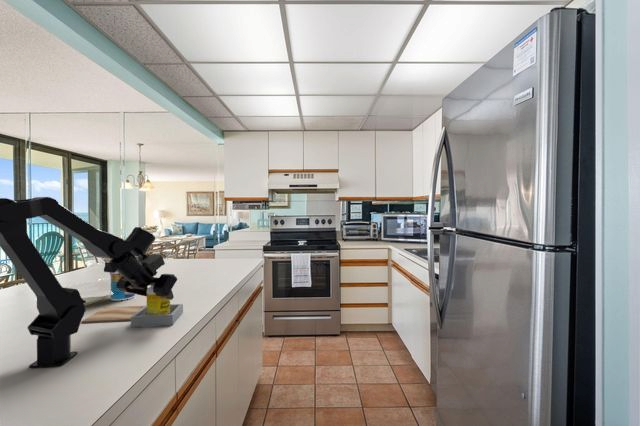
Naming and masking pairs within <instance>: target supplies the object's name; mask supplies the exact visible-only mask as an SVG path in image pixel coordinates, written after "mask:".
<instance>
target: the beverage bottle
mask: <svg viewBox="0 0 640 426" xmlns="http://www.w3.org/2000/svg"><path fill="white" fill-rule="evenodd" d="M109 276H110V292H111V291H112V292H113V293H114V294H113V295H111V294H110V295H111V296H110V295H109V296H110V297H109V298H110V300H111V301H114V302H117V301H119V302H122V301H128V300H131V299H133V298H134V297H135V296H136V294H132V293H128V292H125V291H120V290H119V289H117V288H116V283H117V282H118V281H119V279H120V278H121V277H122V275H121V274H120V273H119V272H117V271H116V272H115V273H110V272H109ZM127 299H128V300H127ZM121 300H122V301H121Z"/></svg>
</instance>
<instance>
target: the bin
mask: <svg viewBox="0 0 640 426" xmlns="http://www.w3.org/2000/svg"><path fill="white" fill-rule="evenodd" d="M143 306H144V307H143V308H142V309H140V310H139V311H138V312H137V313H135V314H134V315H133V316H131V321H130V328H140V327H157V326H159V327H160V326H174V324H175V323H176V321H177V320H178V319H179V318H180V317H181V316H182V315H183V314H184V304H183V303H170V314H165V315H147V304H146V305H143Z"/></svg>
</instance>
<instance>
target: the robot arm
mask: <svg viewBox="0 0 640 426" xmlns="http://www.w3.org/2000/svg"><path fill="white" fill-rule="evenodd" d="M34 218H41V219H42V220H44V221H46V222H48V223H49V224H51V225H53V226H54V227H57V228H58V229H60V230H61V231H63V232H64V233H66V234H68V235H69V236H71V237H73V238H75V239H76V240H78V241H79V242H80V243H81V244H82V245H83V247H84V249H86V250H87V252H89V253H90V254H91V255H92V256H93V257H95V258H100V259H110V260H109V261H107V262H105V263H104V268H103V272H104V273H109V274H110V273H115V272H116V271H117V272H119V273H120V274H121V275H122V277H121V278H120V279H119V281H118V282H117V283H116V288H117V289H119V290H120V291H125V292H128V293H132V294H135V295H139V296H142V297H146V298H147V289H148V288H149V287H150V286H151V285H152V286H153V292H154V293H155V294H156V296H159V297H163V298H166V299H170V301H172V300H173V299H174V293H173V288H174V286H175V284H176V283H177V281H178V277H177V276H176V275H175V274H173V273H163V274H160V276H158V277H159V278H158V277H157V276H156V275H157V274H158V271H157V270H159V269H160V268H161V267H162V266H165V264H166V263H165V260H164V257H163V255H162V254H160V253H158V254H157V253H151V254H146V253H147V252H148V251H149V249H150V248H151V246H152V245H153V243H154V242H156V236H155V235H154V234H153V233H152V232H149V231H148V230H145V229H143V228H142V227H141V226H135V227H134V228H133V229H132V231H131V232H130V234H129V235H128V236H127V237H126V238H125V239H123V238H122V237H120V236H118V235H115V234H113V233H111V232H108V231H104V230H101V229H98V228H96V227H95V226H94V225H92V224H91V223H90V222H88V221H86V219H83V218H81V217H80V216H79V215H77V214H76V213H74V212H73V211H72V210H69V209H68V207H67V208H66V207H65V206H63V205H62V204H61V203H59V201H57V200H56V199H55V198H54V197H50V196H35V197H33V198H25V199H15V200H14V199H10V198H7V197H0V248H1V250H2V251H3V252H4V254H5V255H6V256H7V258H8V259H9V261H10V262H11V263H12V265H13V266H14V267H15V269H16V270H17V271H18V273H19V274H20V276H21V277H22V278H23V280H24V281H25V282H26V284H27V285H28V287H29V288H30V289H31V291H32V292H33V294H34V295H35V297H36V309H37V312H38V315H37V316H36V317H35V318H34V319H33V321H31V322H30V324H29V325H28V326H27V330H28V332H29V334H30V335H31V336H37V338H36V360H35V361H33V362H32V363H30V364H29V365H28V368H30V369H33V368H45V367H46V368H49V367H61V366H63V365H64V364H66V363H68V362H69V360H71V359H72V358H74V357H75V356H77V355H78V353H79V351H71V350H72V347H71V346H72V345H71V339H72V338H71V335H74V334H76V333H78V331H79V327H80V326H81V324H82V323H81V321H83V320H82V319H83V317H84V315H85V313H86V312H87V311H86V310H87V308H86V306H85V303H87V300H84V299H83V298H82V296H81V294H80V291H79V290H78V289H77V288H69V287H63V286H62V284H61V283H60V282H59V281H58V279H57V277H56V276H55V274H54V272H53V271H52V269H51V268H50V267H49V265H48V264H47V262H46V261H45V260H44V258H43V257H42V255H41V253H40V252H39V250H38V249H37V247H36V246H35V244H34V243H33V241H32V239H31V238H30V237H29V235H28V221H27V220H28V219H34Z"/></svg>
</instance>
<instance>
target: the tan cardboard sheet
mask: <svg viewBox="0 0 640 426" xmlns="http://www.w3.org/2000/svg"><path fill="white" fill-rule="evenodd" d="M144 306H145V305H134V306H133V305H132V306H131V305H130V306H129V305H128V306H112V307H111V306H110V307H103V308H101V309H99V310H98V311H96V312H95V313H93V314H91V315H90V316H89V315H88V316H87V317H86V318H85V319H83V320H81V323H80V324H89V323H90V324H93V323H114V322H131V316H133V315H134V314H135V313H137V312H138V311H139V310H140V309H142V308H143V307H144Z"/></svg>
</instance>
